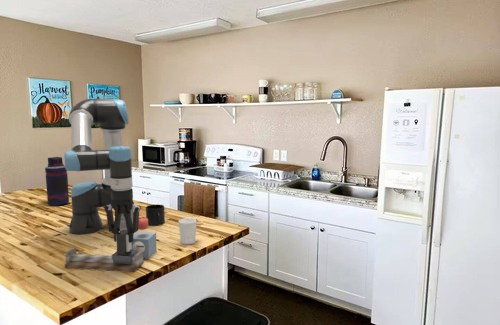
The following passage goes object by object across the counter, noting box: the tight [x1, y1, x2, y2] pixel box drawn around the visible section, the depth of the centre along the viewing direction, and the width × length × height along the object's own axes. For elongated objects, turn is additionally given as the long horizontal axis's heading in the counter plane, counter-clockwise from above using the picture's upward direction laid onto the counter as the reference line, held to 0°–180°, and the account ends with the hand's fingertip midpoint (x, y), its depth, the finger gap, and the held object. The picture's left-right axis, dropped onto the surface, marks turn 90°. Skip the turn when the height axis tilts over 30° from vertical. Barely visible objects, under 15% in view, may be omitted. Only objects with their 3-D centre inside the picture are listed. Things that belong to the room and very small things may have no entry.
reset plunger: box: [138, 217, 149, 231], centre depth 139 cm, size 4×4×4 cm
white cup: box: [178, 217, 197, 245], centre depth 154 cm, size 8×8×10 cm
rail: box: [64, 246, 144, 273], centre depth 130 cm, size 28×8×6 cm, turn 84°
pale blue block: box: [131, 231, 157, 260], centre depth 140 cm, size 8×9×8 cm
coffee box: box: [119, 208, 135, 235], centre depth 161 cm, size 9×6×16 cm
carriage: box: [111, 230, 137, 264], centre depth 128 cm, size 7×6×12 cm
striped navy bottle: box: [44, 156, 70, 207], centre depth 216 cm, size 14×12×30 cm
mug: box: [145, 203, 166, 227], centre depth 180 cm, size 9×12×9 cm
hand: (124, 249), depth 128 cm, fingers closed on carriage, 3 cm apart
